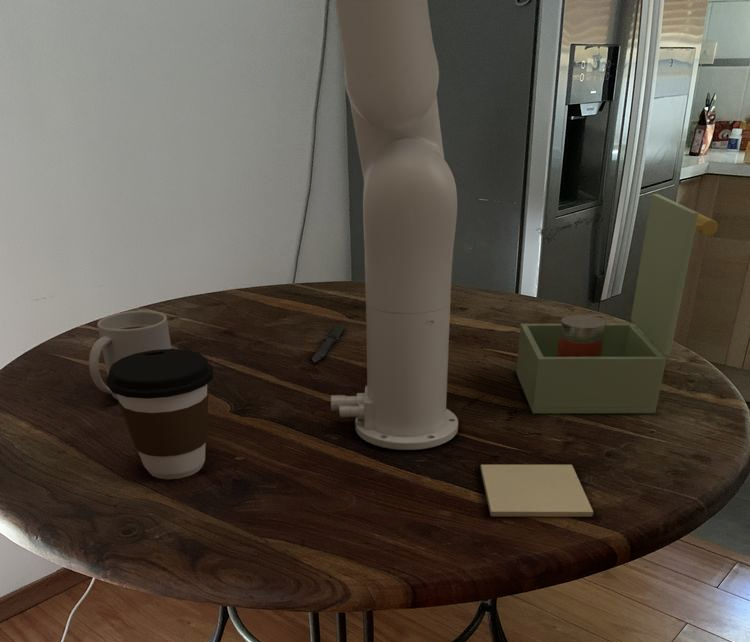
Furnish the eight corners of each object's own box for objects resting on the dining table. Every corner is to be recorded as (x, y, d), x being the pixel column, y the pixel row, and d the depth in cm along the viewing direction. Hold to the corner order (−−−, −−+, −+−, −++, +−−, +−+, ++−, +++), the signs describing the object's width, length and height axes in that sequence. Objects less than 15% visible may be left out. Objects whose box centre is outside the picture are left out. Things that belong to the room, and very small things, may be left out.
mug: (173, 375, 107) (162, 307, 102) (182, 399, 99) (171, 326, 94) (95, 386, 104) (80, 316, 99) (98, 411, 96) (82, 336, 91)
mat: (490, 516, 72) (491, 511, 72) (480, 469, 81) (480, 464, 81) (592, 516, 72) (593, 511, 72) (571, 469, 81) (572, 464, 80)
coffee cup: (120, 454, 85) (100, 355, 79) (214, 438, 88) (202, 342, 82) (130, 498, 76) (108, 390, 70) (234, 478, 80) (221, 373, 74)
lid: (691, 212, 81) (737, 212, 81) (651, 193, 94) (691, 193, 94) (663, 355, 90) (705, 355, 90) (630, 320, 102) (666, 320, 102)
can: (557, 394, 97) (565, 327, 93) (549, 379, 102) (557, 315, 98) (600, 394, 97) (611, 327, 93) (590, 378, 102) (600, 314, 98)
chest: (532, 413, 94) (538, 358, 90) (516, 373, 107) (520, 323, 103) (655, 413, 94) (666, 358, 90) (624, 372, 106) (632, 323, 102)
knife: (332, 322, 125) (349, 320, 125) (332, 327, 126) (349, 325, 125) (305, 360, 111) (324, 359, 110) (306, 366, 111) (325, 364, 110)
